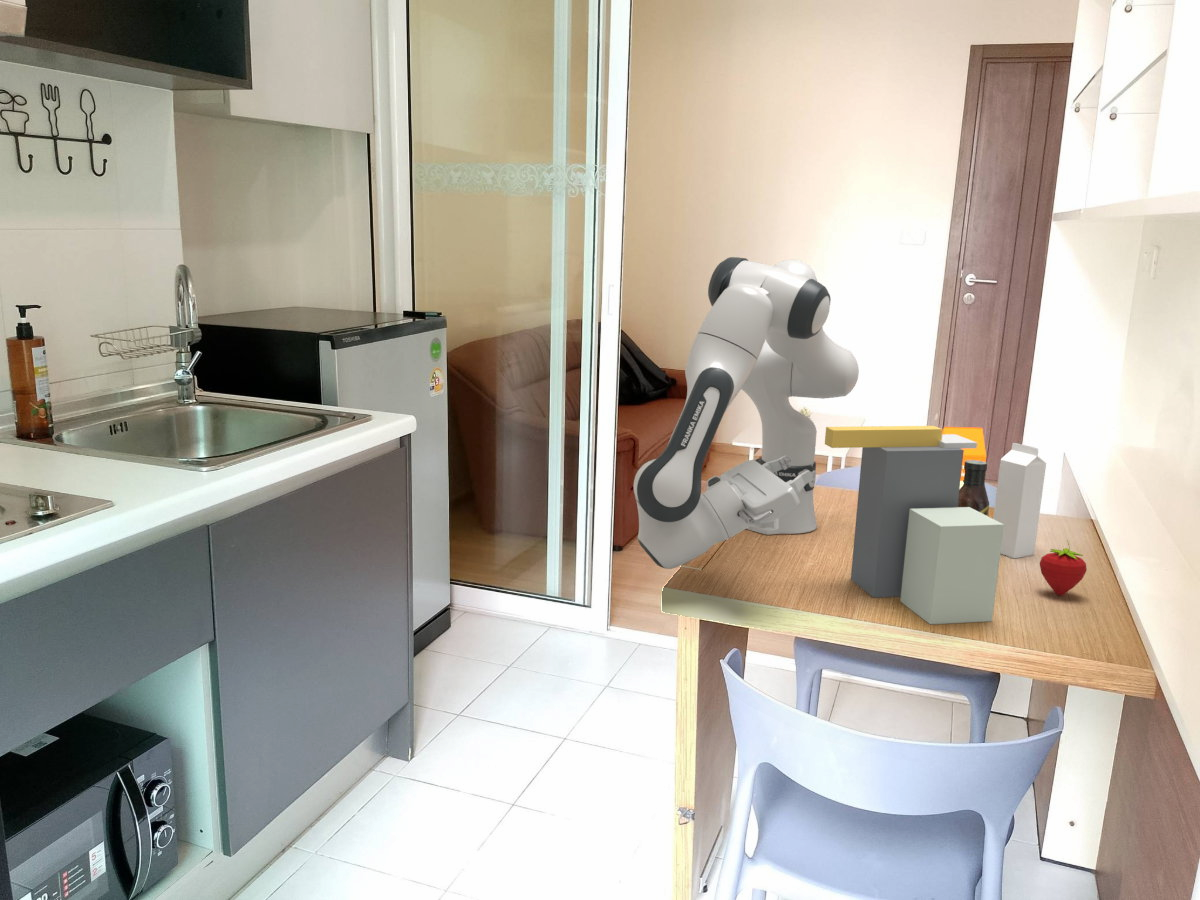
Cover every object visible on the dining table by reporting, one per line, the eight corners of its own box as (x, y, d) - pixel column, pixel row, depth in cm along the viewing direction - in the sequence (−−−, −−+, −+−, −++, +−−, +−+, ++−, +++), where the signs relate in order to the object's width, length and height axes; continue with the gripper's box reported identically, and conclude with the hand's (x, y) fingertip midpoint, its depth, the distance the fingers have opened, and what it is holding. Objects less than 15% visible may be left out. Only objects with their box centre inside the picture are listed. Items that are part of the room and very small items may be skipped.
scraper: (836, 450, 158) (838, 432, 158) (819, 441, 165) (821, 424, 164) (976, 448, 163) (978, 431, 162) (954, 439, 170) (956, 423, 169)
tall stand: (873, 597, 165) (887, 451, 159) (850, 579, 173) (863, 439, 168) (947, 594, 167) (963, 449, 162) (921, 576, 176) (936, 438, 170)
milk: (1013, 559, 187) (1027, 450, 182) (988, 549, 193) (1001, 443, 187) (1034, 555, 190) (1049, 447, 185) (1009, 545, 195) (1022, 440, 190)
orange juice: (979, 518, 214) (989, 431, 210) (940, 517, 215) (949, 430, 210) (966, 508, 222) (976, 424, 218) (928, 507, 222) (937, 423, 218)
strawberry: (1033, 586, 172) (1040, 533, 170) (1079, 592, 170) (1087, 538, 168) (1038, 598, 167) (1045, 543, 165) (1085, 603, 165) (1093, 548, 163)
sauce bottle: (985, 568, 181) (997, 467, 177) (950, 565, 182) (962, 464, 178) (979, 557, 187) (991, 459, 183) (945, 554, 189) (956, 457, 184)
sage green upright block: (930, 624, 154) (941, 526, 150) (900, 601, 164) (909, 508, 160) (991, 621, 156) (1004, 524, 152) (958, 598, 166) (969, 507, 162)
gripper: (741, 510, 150) (816, 466, 151) (704, 476, 170) (771, 437, 171) (758, 542, 152) (832, 498, 153) (720, 505, 172) (785, 467, 172)
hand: (799, 466), depth 162 cm, fingers open, 8 cm apart
